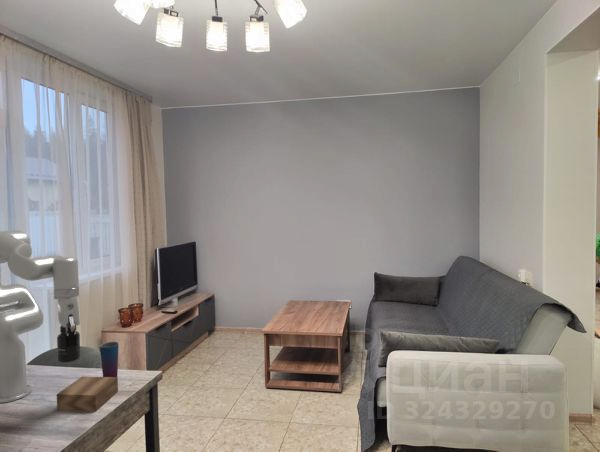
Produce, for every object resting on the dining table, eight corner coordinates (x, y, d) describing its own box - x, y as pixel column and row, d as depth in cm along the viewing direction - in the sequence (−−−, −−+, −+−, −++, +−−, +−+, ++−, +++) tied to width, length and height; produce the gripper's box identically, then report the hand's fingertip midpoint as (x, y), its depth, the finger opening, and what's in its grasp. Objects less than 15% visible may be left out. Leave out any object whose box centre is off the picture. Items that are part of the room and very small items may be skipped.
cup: (112, 385, 151) (110, 347, 151) (97, 383, 153) (95, 346, 152) (123, 377, 158) (122, 341, 157) (108, 376, 159) (107, 340, 159)
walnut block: (57, 411, 133) (56, 394, 133) (82, 391, 147) (82, 376, 147) (96, 412, 132) (95, 395, 132) (118, 392, 146) (117, 377, 146)
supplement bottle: (55, 364, 130) (54, 329, 130) (60, 357, 136) (58, 324, 136) (78, 361, 133) (77, 326, 132) (82, 354, 139) (80, 321, 138)
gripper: (84, 295, 130) (87, 347, 130) (73, 287, 142) (75, 335, 143) (59, 298, 125) (61, 353, 125) (49, 290, 137) (51, 340, 138)
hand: (68, 343), depth 134 cm, fingers closed on supplement bottle, 6 cm apart
